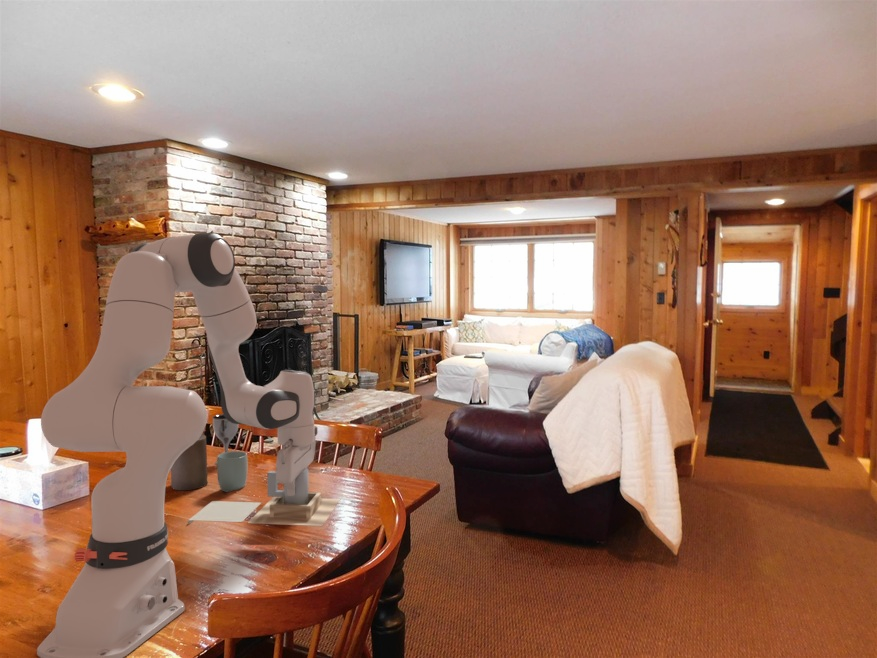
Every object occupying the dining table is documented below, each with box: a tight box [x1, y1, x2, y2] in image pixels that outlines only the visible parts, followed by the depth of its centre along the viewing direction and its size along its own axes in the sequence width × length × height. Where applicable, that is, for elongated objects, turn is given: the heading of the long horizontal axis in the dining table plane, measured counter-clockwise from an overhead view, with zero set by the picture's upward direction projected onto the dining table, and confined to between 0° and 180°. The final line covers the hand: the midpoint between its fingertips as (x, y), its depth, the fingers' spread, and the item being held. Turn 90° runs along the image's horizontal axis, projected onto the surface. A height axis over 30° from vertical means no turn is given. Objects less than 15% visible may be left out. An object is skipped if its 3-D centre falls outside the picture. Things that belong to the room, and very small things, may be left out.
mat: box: [187, 500, 262, 525], centre depth 147 cm, size 13×13×1 cm
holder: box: [247, 491, 341, 527], centre depth 148 cm, size 18×18×4 cm
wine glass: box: [212, 413, 240, 465], centre depth 192 cm, size 8×8×15 cm
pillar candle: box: [170, 434, 209, 491], centre depth 169 cm, size 10×10×15 cm
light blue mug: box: [267, 467, 310, 505], centre depth 148 cm, size 6×10×10 cm, turn 86°
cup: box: [216, 450, 248, 493], centre depth 165 cm, size 8×8×10 cm
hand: (296, 490), depth 148 cm, fingers closed on light blue mug, 6 cm apart
